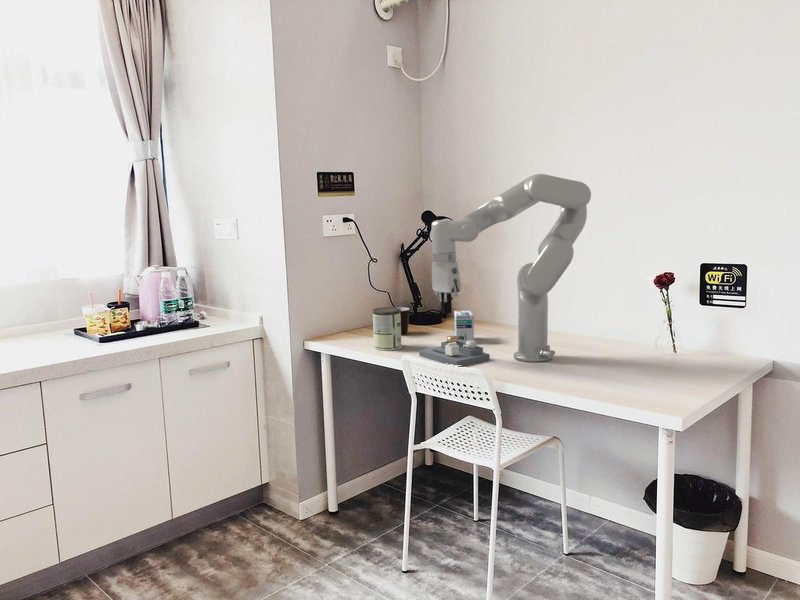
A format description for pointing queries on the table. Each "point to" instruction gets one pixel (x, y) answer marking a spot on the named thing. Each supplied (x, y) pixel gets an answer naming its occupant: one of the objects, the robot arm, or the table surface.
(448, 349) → the slider
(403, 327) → the coffee mug
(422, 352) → the panel
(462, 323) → the light bulb box
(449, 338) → the copper button
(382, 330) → the coffee can
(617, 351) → the table surface
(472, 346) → the grey button
